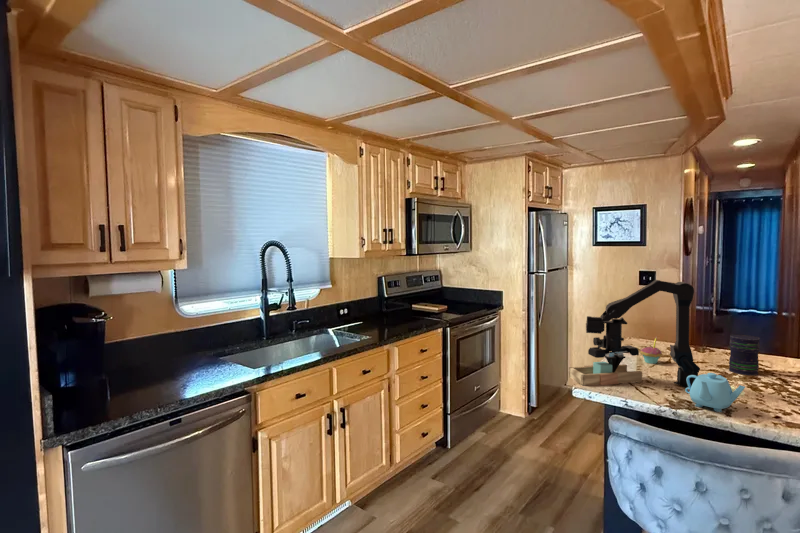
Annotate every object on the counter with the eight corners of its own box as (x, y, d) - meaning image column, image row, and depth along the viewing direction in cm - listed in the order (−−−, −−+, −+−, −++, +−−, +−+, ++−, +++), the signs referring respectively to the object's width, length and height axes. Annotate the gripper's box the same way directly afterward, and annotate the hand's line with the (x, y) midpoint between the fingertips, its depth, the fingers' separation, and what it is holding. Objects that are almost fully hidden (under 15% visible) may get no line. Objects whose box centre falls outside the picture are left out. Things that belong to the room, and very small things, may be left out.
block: (611, 377, 173) (612, 365, 173) (600, 378, 172) (600, 365, 172) (604, 373, 178) (604, 361, 178) (593, 374, 177) (593, 362, 177)
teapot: (748, 416, 138) (750, 381, 138) (701, 414, 140) (702, 380, 140) (721, 399, 153) (722, 367, 153) (678, 397, 156) (679, 366, 155)
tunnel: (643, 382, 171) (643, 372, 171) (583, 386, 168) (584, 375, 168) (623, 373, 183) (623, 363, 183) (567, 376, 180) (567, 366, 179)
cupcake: (656, 360, 202) (657, 334, 201) (665, 365, 193) (666, 338, 193) (636, 359, 203) (637, 334, 202) (645, 365, 194) (646, 338, 194)
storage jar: (764, 376, 177) (765, 340, 176) (736, 374, 179) (738, 339, 178) (749, 368, 187) (751, 334, 186) (723, 367, 189) (725, 333, 188)
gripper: (622, 329, 184) (621, 365, 185) (581, 331, 182) (580, 367, 183) (640, 334, 173) (639, 373, 174) (596, 337, 171) (596, 376, 172)
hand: (613, 372), depth 176 cm, fingers closed
